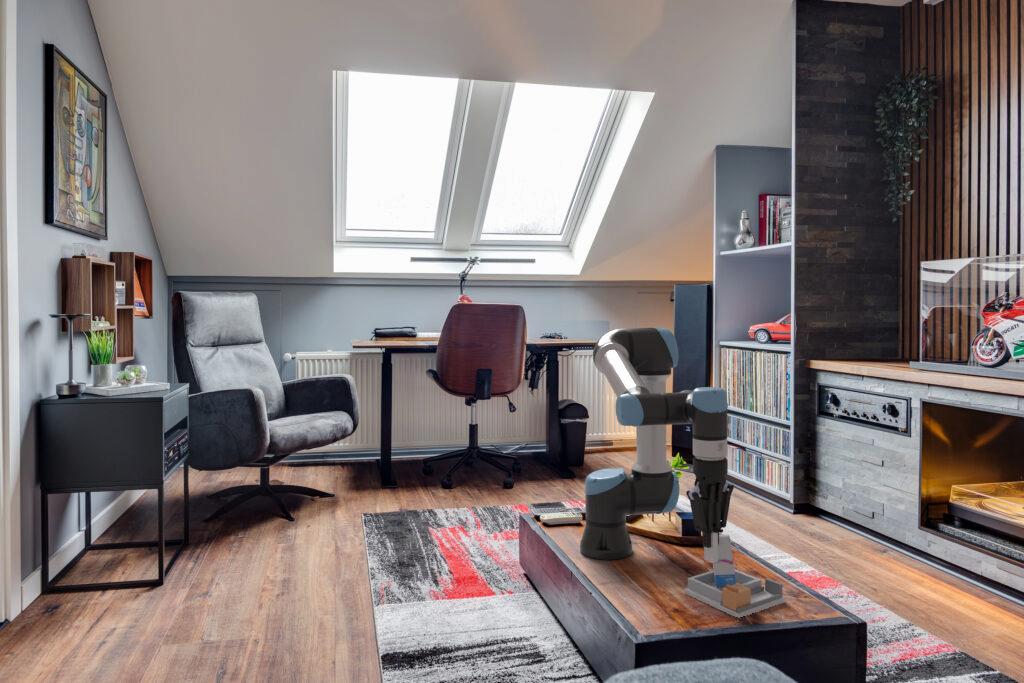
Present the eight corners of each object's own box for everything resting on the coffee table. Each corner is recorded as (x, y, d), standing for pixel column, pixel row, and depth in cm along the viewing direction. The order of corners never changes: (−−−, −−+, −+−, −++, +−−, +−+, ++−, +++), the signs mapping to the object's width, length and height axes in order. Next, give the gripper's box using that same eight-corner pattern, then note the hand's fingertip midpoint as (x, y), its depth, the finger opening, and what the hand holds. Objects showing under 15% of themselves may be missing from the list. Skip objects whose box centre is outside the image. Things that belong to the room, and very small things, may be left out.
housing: (684, 593, 178) (684, 577, 178) (729, 579, 187) (729, 563, 187) (739, 618, 164) (739, 600, 164) (784, 602, 172) (784, 584, 172)
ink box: (737, 586, 173) (730, 535, 175) (716, 587, 174) (709, 536, 176) (735, 581, 181) (728, 532, 183) (715, 582, 182) (708, 534, 185)
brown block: (722, 604, 168) (722, 584, 168) (737, 599, 171) (737, 580, 170) (735, 611, 165) (735, 590, 164) (750, 605, 167) (750, 585, 167)
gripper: (701, 463, 154) (702, 571, 156) (743, 455, 161) (744, 559, 162) (676, 457, 161) (677, 561, 162) (717, 450, 168) (718, 550, 169)
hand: (711, 560), depth 162 cm, fingers closed
